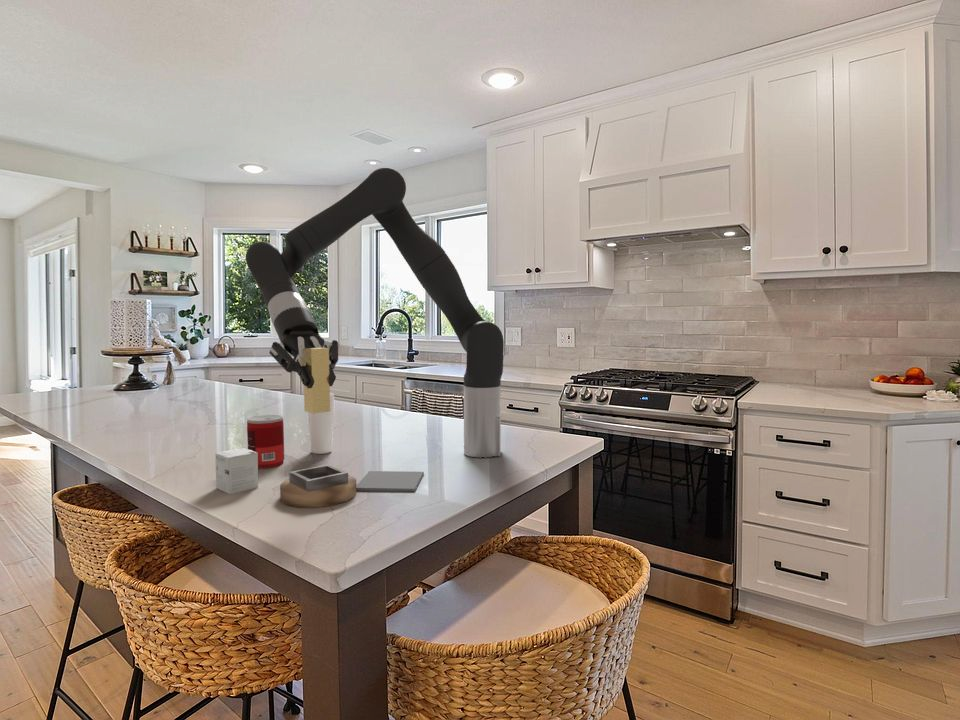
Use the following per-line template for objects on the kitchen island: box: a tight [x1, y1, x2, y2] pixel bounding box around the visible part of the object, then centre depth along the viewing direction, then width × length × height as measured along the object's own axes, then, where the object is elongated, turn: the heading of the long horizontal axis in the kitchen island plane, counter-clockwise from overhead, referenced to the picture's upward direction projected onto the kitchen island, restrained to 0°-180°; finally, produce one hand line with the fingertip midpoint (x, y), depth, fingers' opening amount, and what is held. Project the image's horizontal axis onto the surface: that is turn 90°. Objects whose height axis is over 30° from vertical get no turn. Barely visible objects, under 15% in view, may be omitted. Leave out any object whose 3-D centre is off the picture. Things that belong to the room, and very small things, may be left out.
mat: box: [356, 470, 425, 492], centre depth 113 cm, size 12×12×1 cm
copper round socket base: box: [279, 464, 358, 509], centre depth 105 cm, size 14×14×4 cm
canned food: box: [246, 414, 285, 469], centre depth 127 cm, size 8×8×11 cm
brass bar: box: [303, 347, 331, 413], centre depth 103 cm, size 4×4×12 cm
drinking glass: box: [306, 391, 336, 455], centre depth 139 cm, size 7×7×15 cm
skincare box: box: [215, 447, 259, 495], centre depth 109 cm, size 6×6×7 cm
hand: (321, 384), depth 102 cm, fingers closed on brass bar, 3 cm apart
